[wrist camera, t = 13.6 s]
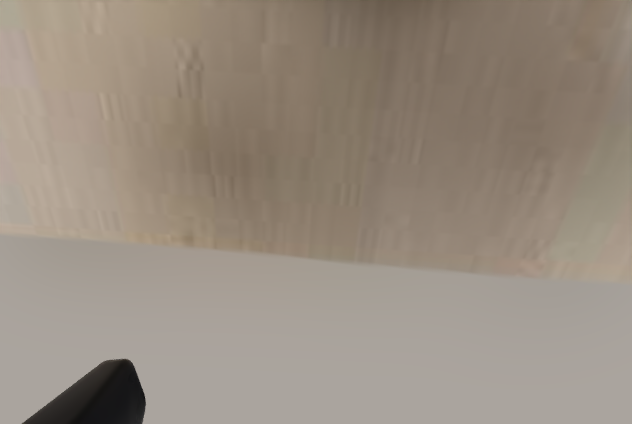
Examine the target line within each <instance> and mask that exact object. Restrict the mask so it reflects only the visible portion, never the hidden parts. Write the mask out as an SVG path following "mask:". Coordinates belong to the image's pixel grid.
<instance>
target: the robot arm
mask: <svg viewBox="0 0 632 424" xmlns="http://www.w3.org/2000/svg"><path fill="white" fill-rule="evenodd" d="M145 406H146V402H145V396H144V392H143V389H142V387H141V384H140V382H139V379H138V376H137V373H136V371H135V368H134V366H133V363H132V362H131V361H130V360H128V359H117V360H107V361H104V362H102V363H101V364H99V365H98V366H97V367H96V368H94V369H93V370H92V371H91V372H89V373H88V374H86V375H85V376H84V377H82V378H81V379H80V380H78V381H77V382H76V383H75V384H73V385H72V386H71V387H69V388H68V389H67V390H65V391H64V392H63V393H61V394H60V395H59V396H58V397H56V398H55V399H54V400H53V401H51V402H50V403H48V404H47V405H46V406H44V407H43V408H42V409H41V410H39V411H38V412H37V413H35V414H34V415H33V416H31V417H30V418H29V419H27V420H26V421H25V422H24V423H22V424H142V422H143V418H144V412H145Z"/></svg>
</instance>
